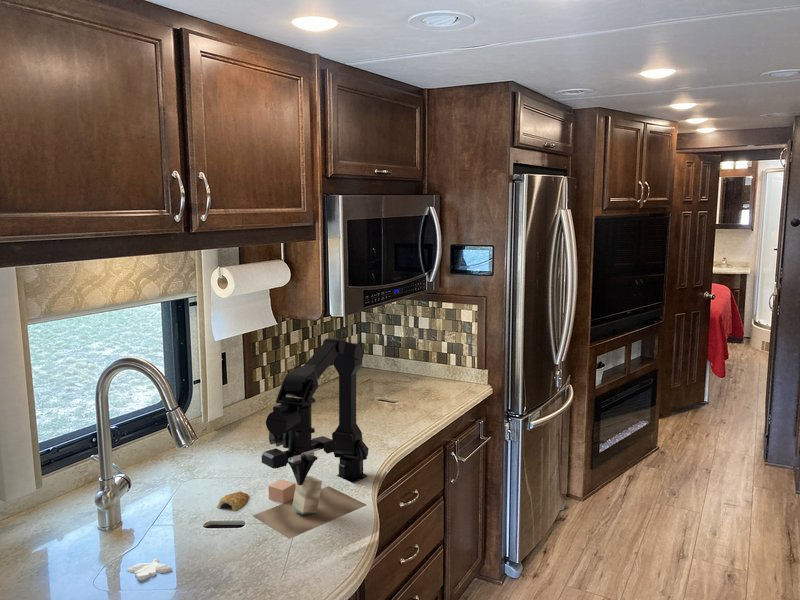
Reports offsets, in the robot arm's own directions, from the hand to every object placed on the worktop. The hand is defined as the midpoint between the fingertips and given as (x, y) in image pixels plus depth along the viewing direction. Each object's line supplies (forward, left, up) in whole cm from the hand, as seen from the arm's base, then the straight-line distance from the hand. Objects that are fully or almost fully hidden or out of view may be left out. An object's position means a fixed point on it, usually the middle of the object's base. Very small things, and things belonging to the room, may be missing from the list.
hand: (299, 484), depth 160 cm
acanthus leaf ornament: (+37, -4, -10) cm, 38 cm away
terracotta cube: (-2, -11, -9) cm, 14 cm away
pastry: (+9, -18, -9) cm, 22 cm away
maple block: (-1, 0, -7) cm, 7 cm away
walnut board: (-3, 0, -9) cm, 9 cm away
